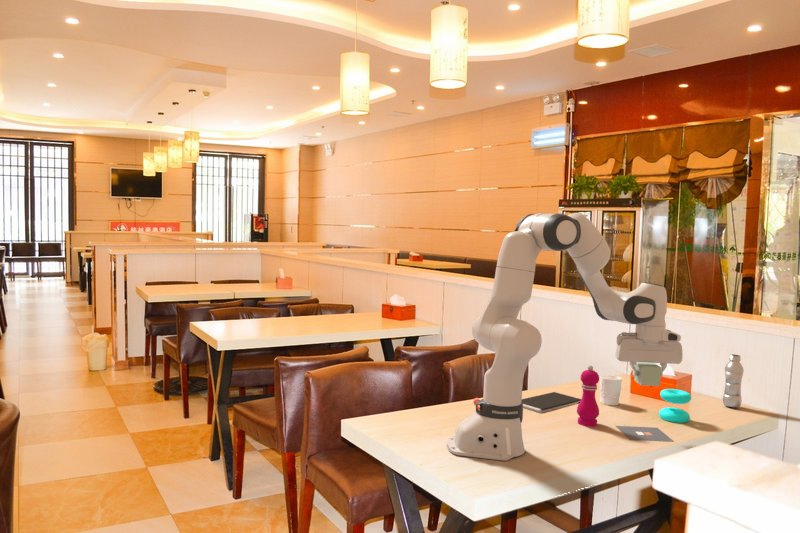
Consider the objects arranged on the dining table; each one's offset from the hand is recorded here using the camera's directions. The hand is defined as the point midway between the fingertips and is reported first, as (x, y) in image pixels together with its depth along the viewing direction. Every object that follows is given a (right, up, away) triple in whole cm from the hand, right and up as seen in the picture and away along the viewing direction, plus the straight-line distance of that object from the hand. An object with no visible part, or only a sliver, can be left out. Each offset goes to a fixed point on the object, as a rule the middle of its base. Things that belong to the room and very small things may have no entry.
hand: (647, 376), depth 198 cm
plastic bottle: (+47, -19, +38) cm, 63 cm away
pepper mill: (-16, -18, +10) cm, 26 cm away
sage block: (0, -2, 0) cm, 2 cm away
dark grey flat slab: (-24, -17, +34) cm, 45 cm away
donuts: (+17, -19, +19) cm, 31 cm away
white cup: (0, -17, +37) cm, 41 cm away
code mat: (-1, -19, +1) cm, 19 cm away
